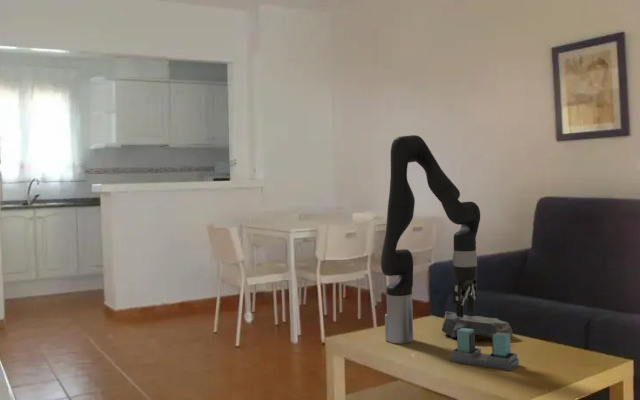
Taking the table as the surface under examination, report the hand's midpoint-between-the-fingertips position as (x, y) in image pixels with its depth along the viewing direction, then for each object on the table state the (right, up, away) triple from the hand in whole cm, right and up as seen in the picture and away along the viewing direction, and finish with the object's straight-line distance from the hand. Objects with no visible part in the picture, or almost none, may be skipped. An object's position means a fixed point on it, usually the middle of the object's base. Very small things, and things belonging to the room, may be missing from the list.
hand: (465, 314), depth 217 cm
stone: (+11, -14, +33) cm, 38 cm away
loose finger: (0, -13, 0) cm, 13 cm away
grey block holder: (+5, -15, -3) cm, 16 cm away
